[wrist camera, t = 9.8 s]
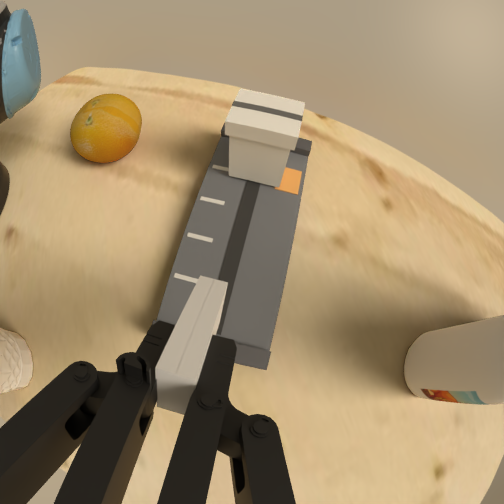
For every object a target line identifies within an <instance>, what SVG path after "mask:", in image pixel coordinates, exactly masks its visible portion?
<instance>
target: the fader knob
mask: <svg viewBox="0 0 504 504" xmlns="http://www.w3.org/2000/svg"><path fill="white" fill-rule="evenodd" d="M304 106H305V103H304V102H300V101H297V100H292V99H288V98H284V97H280V96H276V95H271V94H266V93H262V92H257V91H251V90H246V89H240V90H239V92H238V94H237V96H236V98H235V100H234V102H233V104H232V107H231V109H230V111H229V114H228V116H227V118H226V120H225V135H229V176H232V177H237V178H241V179H245V180H250V181H254V182H258V183H262V184H266V185H270V186H274V187H278V188H279V187H280V183H281V180H282V177H283V173H284V170H285V167H286V163H287V160H288V156H289V153H290V150H295V147H296V144H297V140H298V137H299V132H300V127H301V122H302V117H303V111H304Z"/></svg>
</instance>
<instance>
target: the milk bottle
mask: <svg viewBox="0 0 504 504" xmlns="http://www.w3.org/2000/svg"><path fill="white" fill-rule="evenodd" d="M404 377H405V381H406V383H407V386H408V388H409V389H410V390H411V392H412V393H413V394H414V395H416V396H418V397H420V398H425V399H431V400H438V401H446V402H455V403H466V404H502V403H504V315H503V316H497V317H493V318H488V319H484V320H479V321H475V322H470V323H466V324H462V325H457V326H452V327H448V328H443V329H438V330H433V331H429V332H426V333H423V334H422V335H420V336H419V337H418V338H417V339H416V340H415V341H414V342H413V344H412V345H411V347H410V348H409V350H408V353H407V355H406V359H405V363H404Z"/></svg>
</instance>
